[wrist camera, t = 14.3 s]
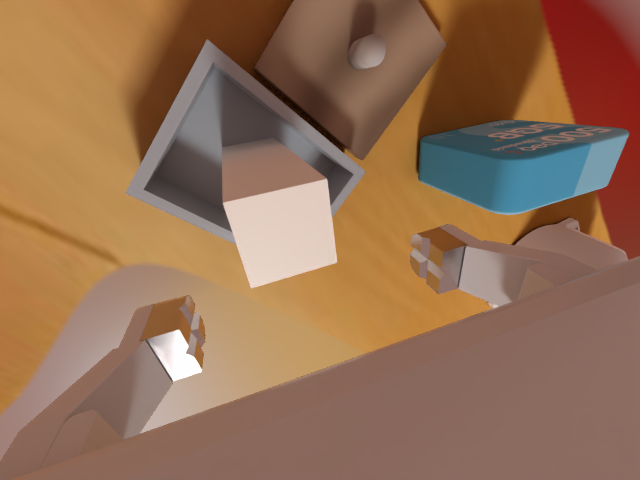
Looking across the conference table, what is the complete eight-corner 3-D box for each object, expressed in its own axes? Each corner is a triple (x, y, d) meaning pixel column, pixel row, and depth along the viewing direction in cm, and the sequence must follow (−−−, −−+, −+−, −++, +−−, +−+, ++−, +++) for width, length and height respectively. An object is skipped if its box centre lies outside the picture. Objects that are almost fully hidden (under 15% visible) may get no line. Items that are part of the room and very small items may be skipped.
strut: (273, 137, 23) (327, 178, 12) (283, 186, 25) (337, 262, 14) (221, 147, 22) (222, 202, 11) (236, 196, 25) (251, 288, 13)
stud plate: (435, 47, 25) (469, 39, 22) (356, 157, 27) (375, 165, 24) (344, -88, 19) (370, -128, 15) (252, 69, 21) (258, 63, 18)
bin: (343, 160, 27) (365, 171, 23) (282, 245, 29) (292, 270, 25) (210, 51, 20) (207, 38, 16) (143, 175, 22) (125, 193, 18)
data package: (504, 118, 31) (642, 128, 21) (496, 158, 33) (617, 184, 23) (413, 138, 28) (519, 160, 18) (411, 179, 31) (505, 219, 21)
